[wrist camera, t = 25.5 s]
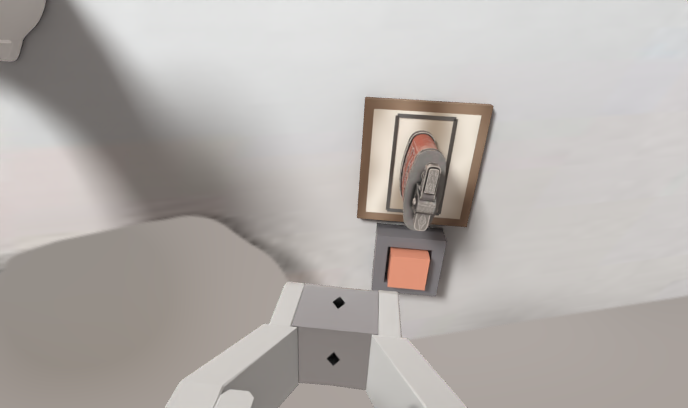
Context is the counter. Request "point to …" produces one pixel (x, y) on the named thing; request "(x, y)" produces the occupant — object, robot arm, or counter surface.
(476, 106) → the board
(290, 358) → the robot arm
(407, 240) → the button housing
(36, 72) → the counter surface
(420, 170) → the lighter
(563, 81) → the counter surface
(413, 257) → the button
